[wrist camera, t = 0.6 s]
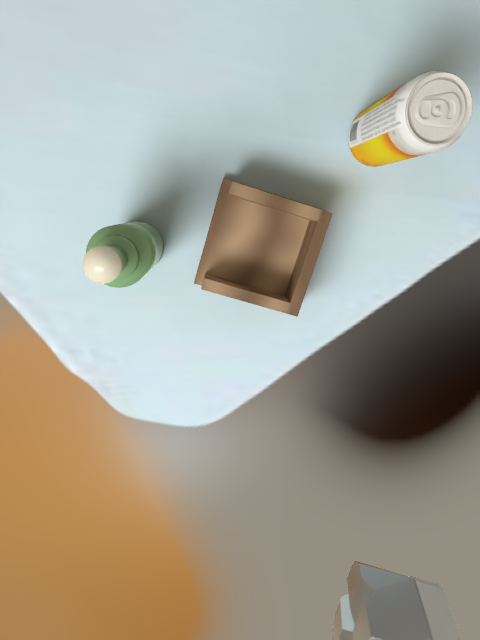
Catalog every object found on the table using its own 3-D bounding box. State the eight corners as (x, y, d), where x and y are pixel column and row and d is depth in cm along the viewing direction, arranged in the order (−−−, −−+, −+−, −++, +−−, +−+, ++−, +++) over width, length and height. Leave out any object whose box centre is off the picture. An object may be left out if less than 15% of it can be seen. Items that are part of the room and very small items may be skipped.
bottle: (132, 211, 50) (90, 213, 33) (172, 240, 51) (152, 257, 34) (105, 250, 51) (50, 272, 34) (145, 278, 52) (112, 314, 35)
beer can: (399, 165, 50) (474, 148, 36) (345, 168, 50) (400, 152, 36) (401, 107, 49) (480, 64, 34) (346, 109, 49) (403, 67, 34)
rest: (194, 281, 52) (192, 289, 47) (223, 178, 50) (224, 175, 45) (291, 309, 54) (299, 319, 49) (324, 210, 51) (336, 211, 46)
